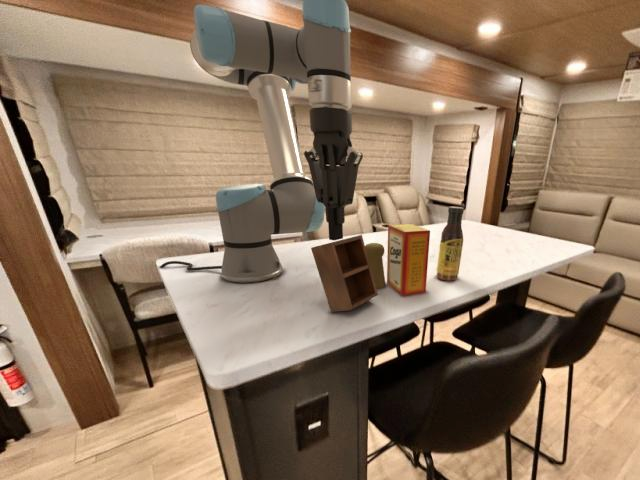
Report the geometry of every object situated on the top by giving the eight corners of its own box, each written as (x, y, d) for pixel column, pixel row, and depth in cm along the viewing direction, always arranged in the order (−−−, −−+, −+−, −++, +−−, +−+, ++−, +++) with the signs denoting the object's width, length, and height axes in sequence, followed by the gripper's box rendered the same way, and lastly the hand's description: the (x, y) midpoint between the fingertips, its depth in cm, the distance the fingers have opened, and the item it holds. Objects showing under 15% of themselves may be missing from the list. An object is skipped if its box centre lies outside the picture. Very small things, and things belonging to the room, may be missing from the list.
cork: (382, 289, 79) (382, 247, 75) (359, 287, 80) (358, 245, 76) (387, 282, 84) (388, 242, 80) (366, 279, 85) (366, 240, 81)
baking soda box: (386, 283, 83) (388, 223, 77) (408, 280, 86) (411, 222, 80) (402, 296, 76) (405, 230, 69) (425, 292, 78) (430, 229, 72)
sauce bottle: (443, 282, 85) (450, 208, 78) (432, 275, 91) (438, 205, 83) (463, 280, 88) (472, 208, 80) (451, 273, 93) (458, 205, 85)
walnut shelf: (310, 247, 63) (330, 242, 60) (342, 239, 71) (361, 234, 68) (330, 311, 66) (350, 310, 63) (359, 297, 74) (378, 295, 71)
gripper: (289, 107, 56) (300, 237, 65) (344, 103, 50) (348, 247, 59) (319, 114, 62) (325, 232, 71) (371, 111, 56) (371, 240, 65)
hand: (336, 238), depth 65 cm, fingers closed
